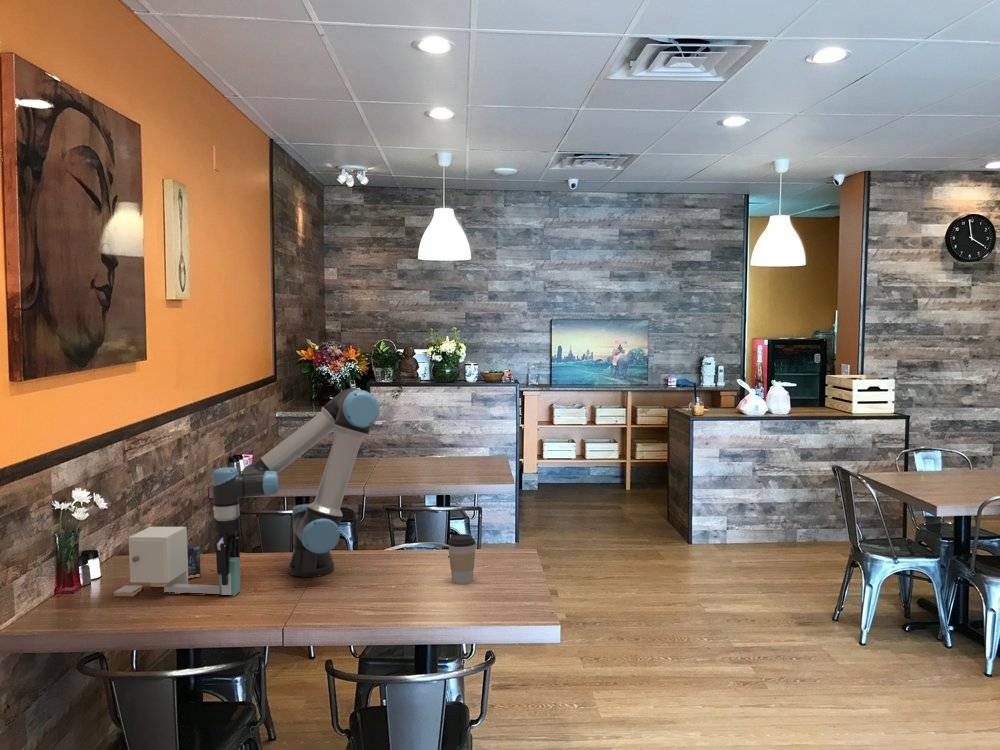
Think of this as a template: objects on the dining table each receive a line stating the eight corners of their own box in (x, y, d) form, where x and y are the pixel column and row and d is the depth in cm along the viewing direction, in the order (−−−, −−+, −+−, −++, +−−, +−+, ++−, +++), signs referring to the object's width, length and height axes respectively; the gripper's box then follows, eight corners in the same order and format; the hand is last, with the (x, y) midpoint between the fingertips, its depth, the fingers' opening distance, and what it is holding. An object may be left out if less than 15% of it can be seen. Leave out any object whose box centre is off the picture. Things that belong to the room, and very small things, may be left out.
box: (177, 582, 256) (176, 551, 256) (170, 578, 261) (169, 547, 260) (201, 577, 262) (200, 546, 261) (194, 573, 266) (193, 543, 265)
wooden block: (143, 591, 249) (142, 585, 249) (132, 598, 243) (132, 591, 243) (125, 591, 250) (124, 585, 249) (114, 597, 244) (114, 591, 243)
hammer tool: (240, 591, 246) (240, 557, 245) (234, 596, 242) (234, 561, 241) (169, 589, 247) (169, 554, 247) (163, 593, 243) (162, 558, 243)
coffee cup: (478, 576, 259) (477, 532, 258) (474, 585, 250) (473, 539, 249) (451, 576, 259) (450, 531, 259) (446, 585, 250) (445, 539, 250)
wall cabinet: (188, 586, 252) (186, 526, 251) (166, 601, 238) (164, 538, 237) (152, 586, 253) (150, 526, 252) (128, 601, 239) (126, 538, 238)
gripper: (226, 511, 251) (229, 582, 253) (202, 524, 234) (205, 601, 236) (249, 511, 251) (252, 583, 252) (226, 524, 234) (230, 601, 235)
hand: (229, 591), depth 244 cm, fingers closed on hammer tool, 4 cm apart
